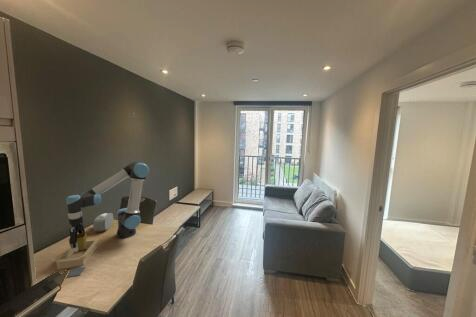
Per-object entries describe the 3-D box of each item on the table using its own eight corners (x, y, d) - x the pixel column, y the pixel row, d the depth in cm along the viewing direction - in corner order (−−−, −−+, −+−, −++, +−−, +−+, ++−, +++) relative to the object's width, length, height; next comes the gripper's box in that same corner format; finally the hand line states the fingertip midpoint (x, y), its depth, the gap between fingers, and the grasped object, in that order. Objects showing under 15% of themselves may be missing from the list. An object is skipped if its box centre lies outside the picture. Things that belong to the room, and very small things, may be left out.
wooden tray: (101, 245, 159) (100, 238, 159) (85, 266, 133) (85, 257, 132) (73, 249, 154) (72, 241, 153) (51, 271, 128) (50, 263, 127)
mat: (85, 267, 132) (85, 266, 132) (79, 275, 124) (79, 274, 124) (69, 270, 129) (68, 269, 129) (62, 278, 122) (62, 277, 122)
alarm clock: (102, 224, 198) (102, 211, 197) (113, 223, 201) (112, 210, 199) (93, 234, 178) (92, 219, 177) (105, 232, 181) (104, 218, 179)
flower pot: (69, 253, 137) (68, 240, 136) (73, 247, 145) (71, 235, 144) (85, 249, 141) (84, 237, 140) (88, 243, 149) (86, 232, 148)
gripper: (76, 212, 150) (80, 241, 152) (60, 224, 129) (64, 257, 132) (88, 211, 152) (91, 239, 154) (74, 223, 131) (78, 255, 134)
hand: (79, 247), depth 143 cm, fingers closed on flower pot, 9 cm apart
